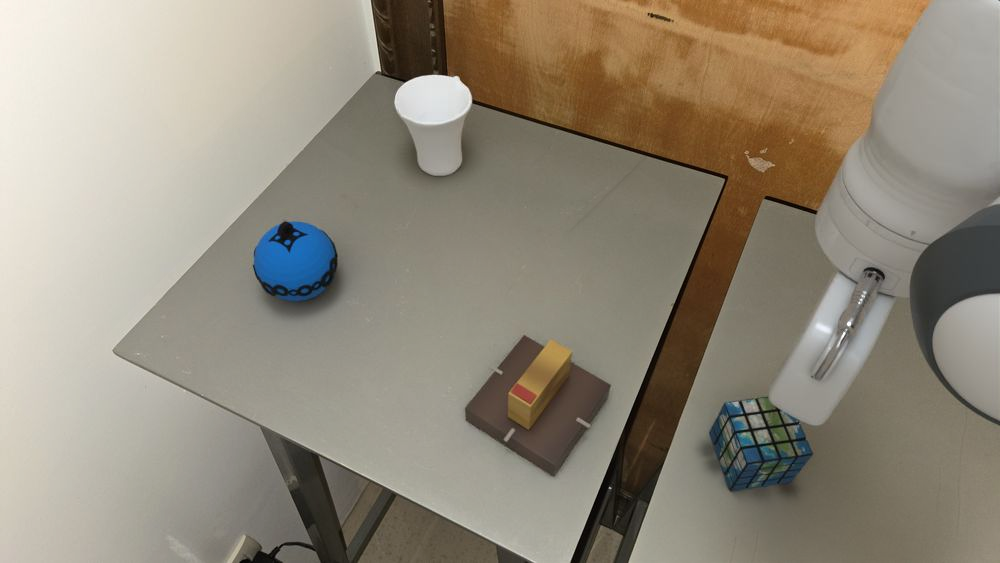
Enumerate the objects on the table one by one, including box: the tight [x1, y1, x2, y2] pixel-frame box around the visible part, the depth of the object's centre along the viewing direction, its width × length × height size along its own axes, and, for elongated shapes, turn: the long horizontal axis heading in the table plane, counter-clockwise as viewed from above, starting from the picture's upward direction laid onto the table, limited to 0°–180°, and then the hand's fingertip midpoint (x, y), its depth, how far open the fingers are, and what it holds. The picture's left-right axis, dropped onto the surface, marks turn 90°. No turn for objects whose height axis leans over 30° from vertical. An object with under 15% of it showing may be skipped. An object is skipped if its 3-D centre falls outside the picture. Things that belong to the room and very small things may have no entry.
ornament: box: [252, 220, 339, 302], centre depth 78 cm, size 9×9×10 cm
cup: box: [393, 74, 473, 177], centre depth 90 cm, size 9×9×10 cm
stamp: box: [508, 338, 573, 430], centre depth 69 cm, size 7×2×5 cm, turn 145°
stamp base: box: [464, 334, 612, 477], centre depth 72 cm, size 11×11×3 cm
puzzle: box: [709, 395, 814, 492], centre depth 68 cm, size 6×6×6 cm
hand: (819, 348), depth 55 cm, fingers open, 8 cm apart
